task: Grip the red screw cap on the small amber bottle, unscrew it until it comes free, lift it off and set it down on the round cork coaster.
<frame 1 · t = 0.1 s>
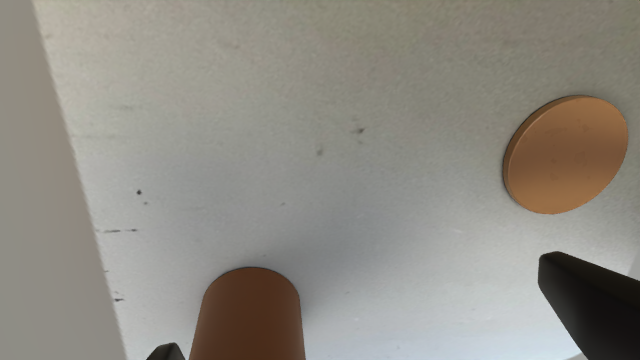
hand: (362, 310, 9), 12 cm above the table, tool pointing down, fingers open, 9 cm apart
coaster: (561, 156, 22), on the table
bottle: (251, 306, 24), on the table
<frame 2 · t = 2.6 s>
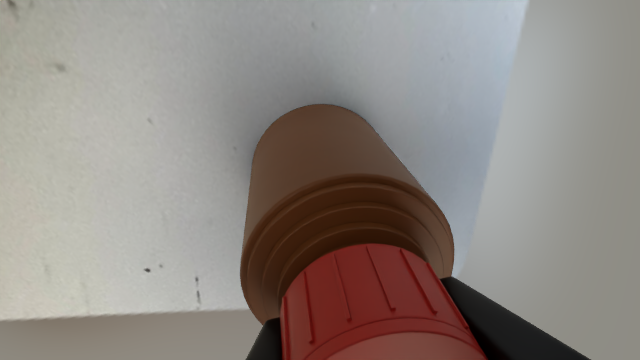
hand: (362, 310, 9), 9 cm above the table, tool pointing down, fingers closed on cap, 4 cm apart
bottle: (319, 169, 17), on the table
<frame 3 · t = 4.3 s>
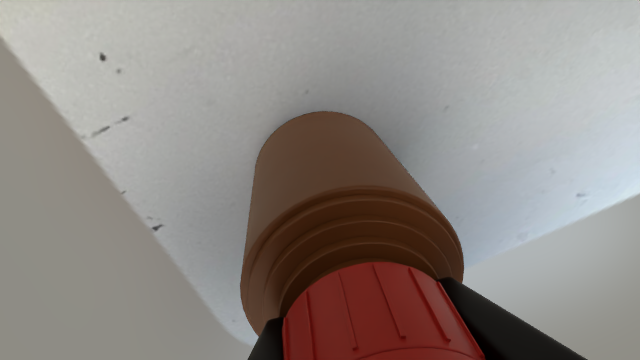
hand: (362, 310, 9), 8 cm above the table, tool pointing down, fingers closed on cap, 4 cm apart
bottle: (323, 177, 17), on the table, touching gripper
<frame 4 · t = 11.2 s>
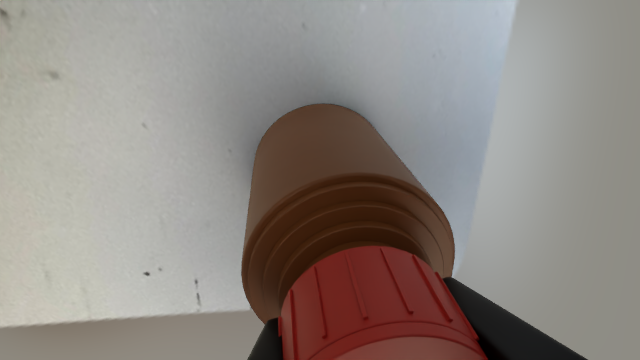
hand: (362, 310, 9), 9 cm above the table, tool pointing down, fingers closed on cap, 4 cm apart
bottle: (320, 168, 17), on the table
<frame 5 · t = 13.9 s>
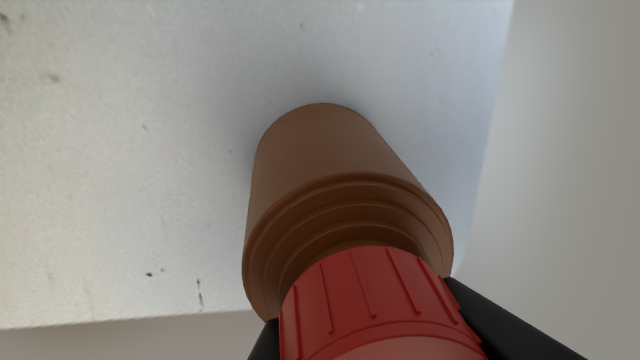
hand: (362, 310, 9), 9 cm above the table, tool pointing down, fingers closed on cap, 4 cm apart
bottle: (320, 168, 17), on the table
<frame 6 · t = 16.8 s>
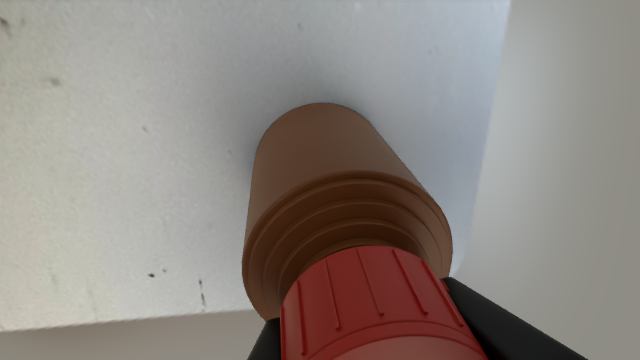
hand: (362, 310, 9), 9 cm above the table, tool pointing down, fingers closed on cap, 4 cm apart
bottle: (320, 167, 18), on the table
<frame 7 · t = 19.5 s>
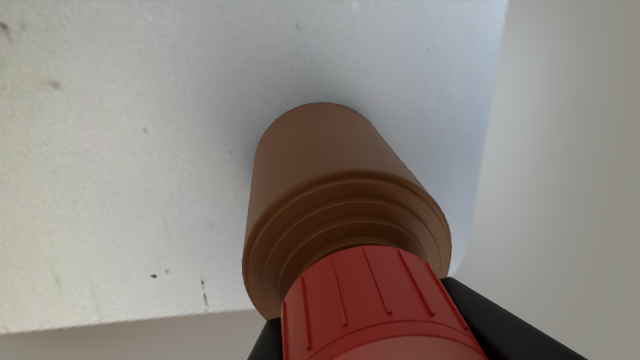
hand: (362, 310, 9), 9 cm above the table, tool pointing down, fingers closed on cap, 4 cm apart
bottle: (320, 167, 18), on the table
when the fingers open (2 cm above the table, at t = 25.4 s): cap drops 1 cm, resting on coaster.
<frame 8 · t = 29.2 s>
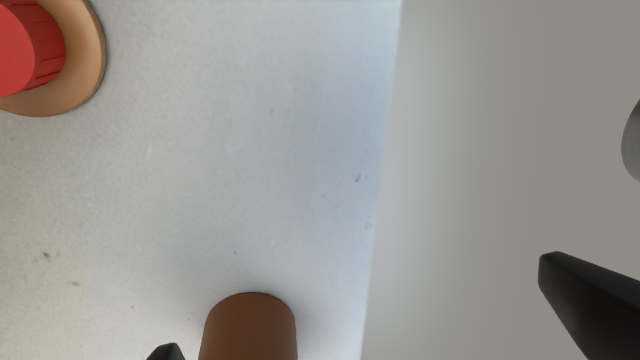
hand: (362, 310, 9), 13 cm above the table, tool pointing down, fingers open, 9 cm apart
coaster: (24, 38, 17), on the table
bottle: (250, 327, 26), on the table
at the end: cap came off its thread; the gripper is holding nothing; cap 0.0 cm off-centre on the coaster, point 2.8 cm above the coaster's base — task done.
